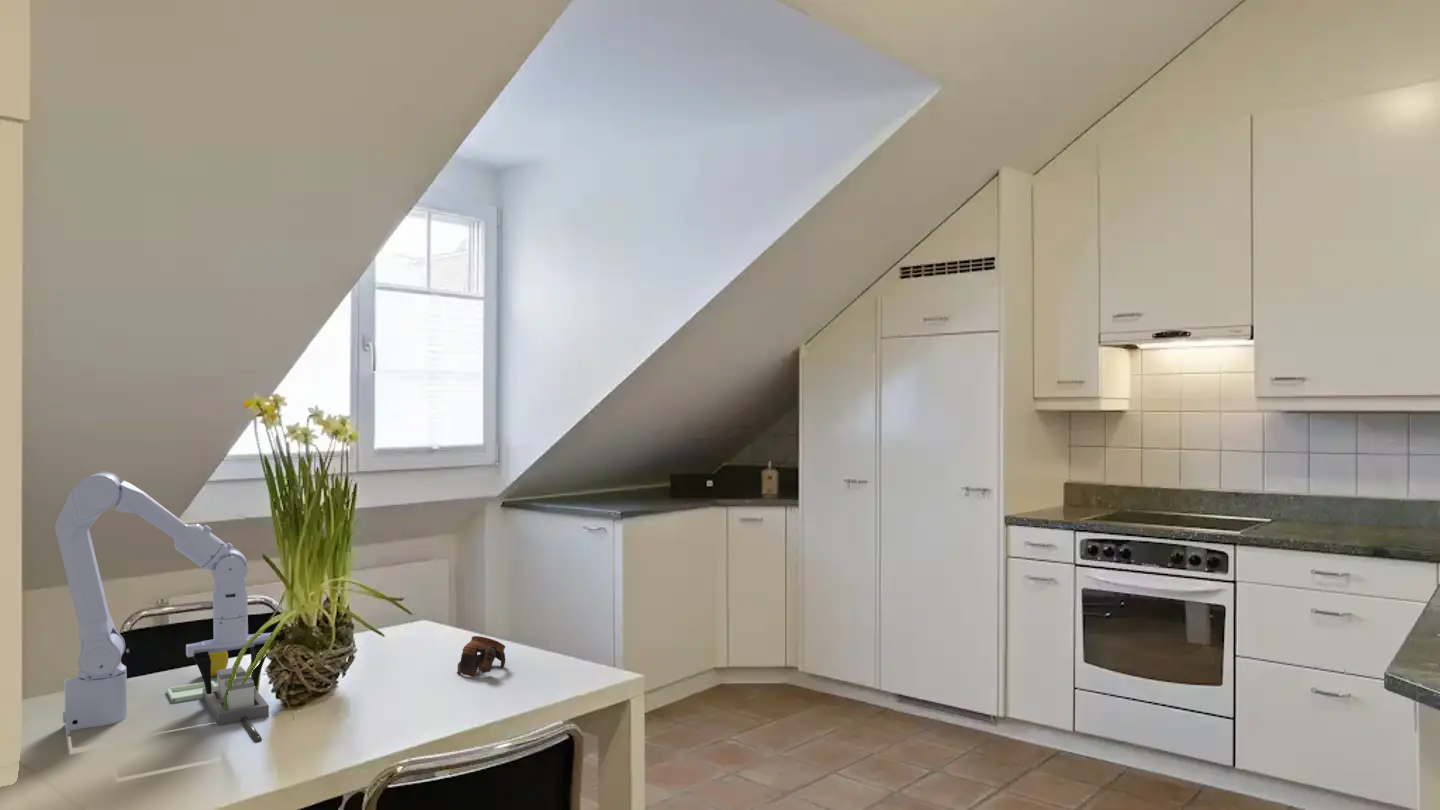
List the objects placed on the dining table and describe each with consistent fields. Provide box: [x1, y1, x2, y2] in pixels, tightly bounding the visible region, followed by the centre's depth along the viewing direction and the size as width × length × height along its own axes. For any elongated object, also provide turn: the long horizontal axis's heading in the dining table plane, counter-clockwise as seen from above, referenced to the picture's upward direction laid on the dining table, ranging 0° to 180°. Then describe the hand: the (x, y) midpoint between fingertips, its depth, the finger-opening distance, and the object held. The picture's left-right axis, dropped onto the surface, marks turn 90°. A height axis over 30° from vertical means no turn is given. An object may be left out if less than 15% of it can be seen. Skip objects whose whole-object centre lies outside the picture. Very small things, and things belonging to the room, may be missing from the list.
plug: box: [216, 666, 246, 699], centre depth 181 cm, size 4×4×6 cm
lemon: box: [208, 651, 229, 678], centre depth 198 cm, size 6×6×8 cm
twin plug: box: [225, 676, 255, 710], centre depth 174 cm, size 4×4×6 cm
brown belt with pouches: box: [456, 635, 507, 677], centre depth 202 cm, size 12×9×8 cm
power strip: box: [202, 685, 270, 743], centre depth 173 cm, size 8×31×3 cm, turn 36°
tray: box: [166, 680, 218, 704], centre depth 186 cm, size 8×8×2 cm
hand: (231, 688), depth 181 cm, fingers open, 7 cm apart
